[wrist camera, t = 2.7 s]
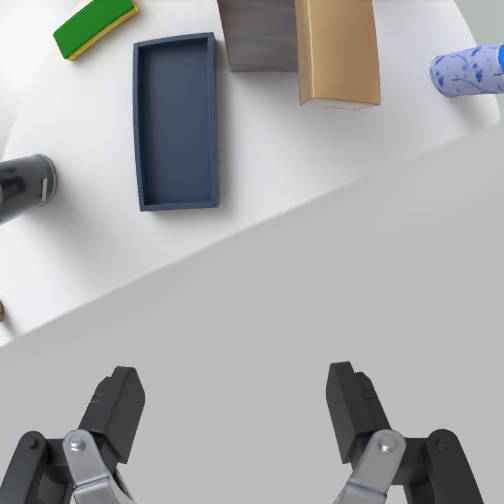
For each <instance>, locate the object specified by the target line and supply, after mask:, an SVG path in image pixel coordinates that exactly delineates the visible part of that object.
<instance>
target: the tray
mask: <svg viewBox="0 0 504 504" xmlns="http://www.w3.org/2000/svg"><path fill="white" fill-rule="evenodd" d="M133 126H134V146H135V161H136V174H137V185H138V195H139V204H140V211H141V212H142V211H157V210H174V209H193V208H212V207H213V208H215V207H218V206H219V203H220V197H219V174H218V148H217V115H216V59H215V36H214V33H213V32H210V33H198V34H189V35H181V36H173V37H166V38H160V39H154V40H149V41H144V42H139V43H134V49H133Z"/></svg>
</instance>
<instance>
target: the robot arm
mask: <svg viewBox="0 0 504 504" xmlns="http://www.w3.org/2000/svg"><path fill="white" fill-rule="evenodd" d="M56 184H57V178H56V172H55V169H54V166H53V164H52V162H51V161H50V160H49V159H48V158H47V157H46V156H44V155H41V154H36V155H31V156H28V157H23V158H18V159H14V160H9V161H5V162H1V163H0V226H1V225H3V224H5V223H6V222H8V221H10V220H12V219H14V218H16V217H18V216H20V215H23V214H25V213H27V212H29V211H31V210H33V209H35V208H37V207H41V206H43V205H45V204H47V203H48V202H49V201H50V200H51V199H52V197H53V195H54V193H55V190H56ZM326 400H327V404H328V408H329V412H330V416H331V420H332V423H333V427H334V431H335V435H336V439H337V443H338V447H339V451H340V455H341V460H342V464H345V463H351V466H352V469H353V472H352V474H351V476H350V478H349V479H348V481H347V483H346V484H345V486H344V488H343V489H342V491H341V492H340V494H339V496H338V497H337V499H336V500H335V502H334V503H333V504H385V501H386V499H387V492H388V489H389V487H390V485H403V487H404V491H405V495H406V499H407V503H408V504H484V503H483V500H482V498H481V495H480V492H479V489H478V486H477V484H476V481H475V478H474V476H473V473H472V471H471V468H470V466H469V463H468V461H467V459H466V456H465V454H464V451H463V449H462V447H461V444H460V442H459V440H458V438H457V436H456V435H455V434H454V433H453V432H451V431H449V430H446V429H439V430H436V431H434V432H432V433H431V434H430V435H429V437H428V438H406V437H403V436H402V435H401V434H400V433H399V432H397V431H395V430H392V429H391V427H390V425H389V422H388V420H387V417H386V415H385V413H384V410H383V408H382V405H381V403H380V401H379V399H378V396H377V394H376V391H375V390H374V387H373V384H372V382H371V380H370V379H369V378H368V377H367V376H366V375H365V374H364V373H363V372H357V373H354V370H353V368H352V366H351V363H350V362H349V361H347V362H339V363H331V365H330V369H329V375H328V380H327V386H326ZM144 404H145V393H144V390H143V387H142V385H141V382H140V379H139V377H138V375H137V372H136V369H135V368H133V367H122V366H117V367H116V368H115V370H114V372H113V374H112V376H111V377H106V378H105V379H103V381H101V382H100V383H99V384H98V386H97V388H96V390H95V393H94V395H93V397H92V399H91V402H90V403H89V405H88V407H87V410H86V412H85V414H84V416H83V418H82V420H81V423H80V425H79V427H78V429H77V430H73V431H71V432H69V433H68V434H67V435H66V436H65V437H64V438H62V439H45V437H44V436H43V435H42V434H41V433H40V432H37V431H30V432H27V433H25V434H24V435H23V436H22V437H21V439H20V441H19V443H18V445H17V448H16V450H15V452H14V454H13V457H12V459H11V462H10V464H9V466H8V469H7V472H6V474H5V477H4V480H3V482H2V485H1V487H0V504H70V500H71V496H72V493H73V496H74V499H75V501H76V504H137V503H136V502H135V500H134V498H133V497H132V495H131V493H130V491H129V489H128V488H127V486H126V484H125V482H124V480H123V478H122V476H121V474H120V472H119V470H118V469H117V468H116V466H117V463H123V464H127V462H128V458H129V455H130V451H131V448H132V444H133V441H134V437H135V434H136V430H137V427H138V424H139V420H140V417H141V414H142V410H143V407H144ZM43 475H44V476H43ZM42 478H43V479H42ZM41 481H42V482H41ZM40 484H41V485H40ZM74 485H75V488H74ZM38 491H39V492H38Z"/></svg>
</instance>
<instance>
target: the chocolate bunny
mask: <svg viewBox="0 0 504 504" xmlns="http://www.w3.org/2000/svg"><path fill="white" fill-rule="evenodd" d="M3 318H4V311H3V306H2V304H1V302H0V322H1V321H2V320H3Z"/></svg>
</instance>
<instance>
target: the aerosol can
mask: <svg viewBox="0 0 504 504" xmlns="http://www.w3.org/2000/svg"><path fill="white" fill-rule="evenodd" d="M430 76H431V79H432V82H433V83H434V85H435V87H436V88H437V89H438V90H439V92H440V93H442V94H443V95H445V96H447V97H456V96H460V95H475V94H498V93H504V43H499V42H498V43H493V44H489V45H485V46H480V47H475V48H471V49H467V50H463V51H459V52H456V53H452V54H448V55H445V56H438V57H436V58H434V59H433V60H432V62H431V64H430Z"/></svg>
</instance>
